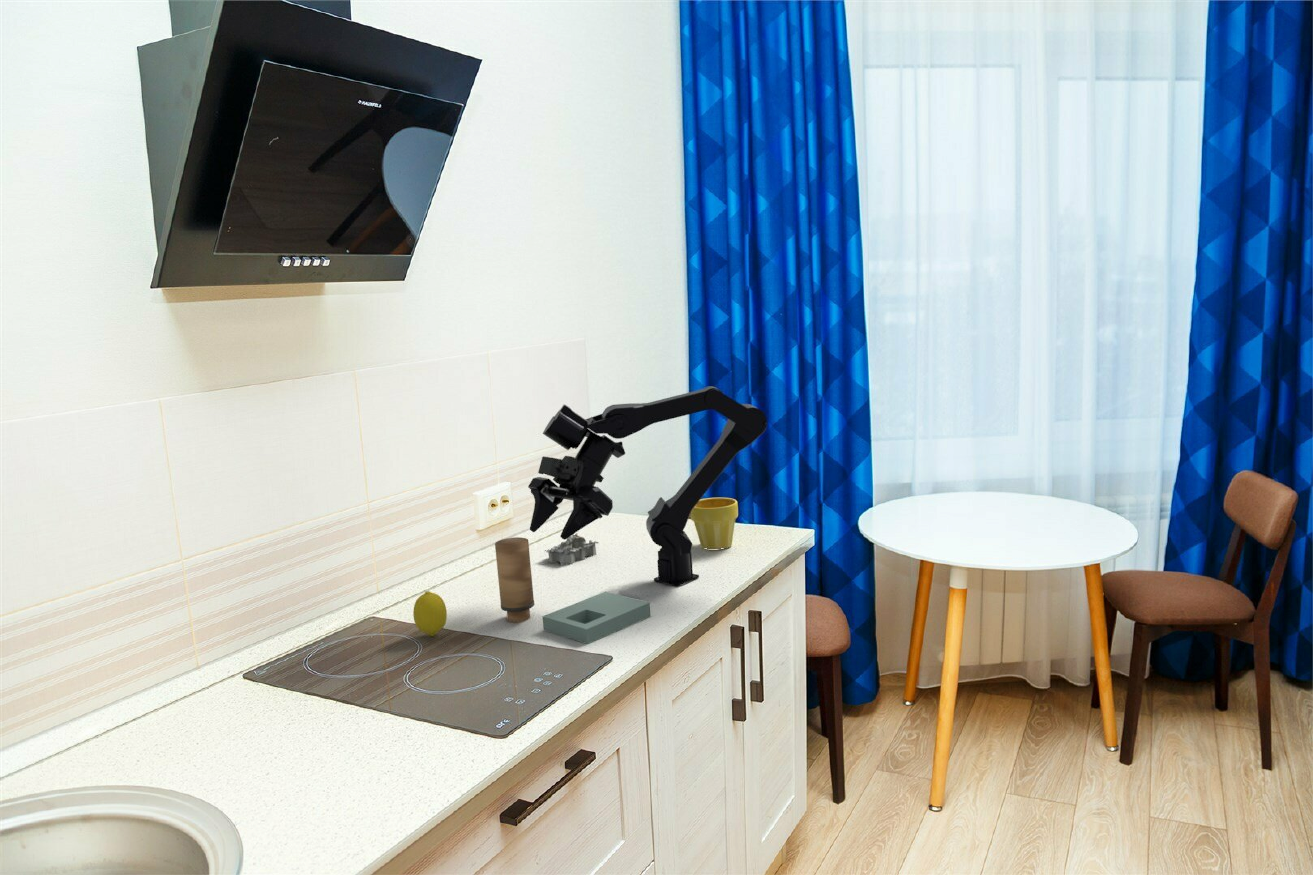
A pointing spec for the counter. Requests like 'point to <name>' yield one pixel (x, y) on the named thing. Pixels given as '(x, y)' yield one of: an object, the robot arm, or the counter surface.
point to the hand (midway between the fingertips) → (546, 534)
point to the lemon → (430, 613)
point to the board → (596, 617)
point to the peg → (515, 578)
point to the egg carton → (572, 550)
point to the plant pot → (715, 521)
